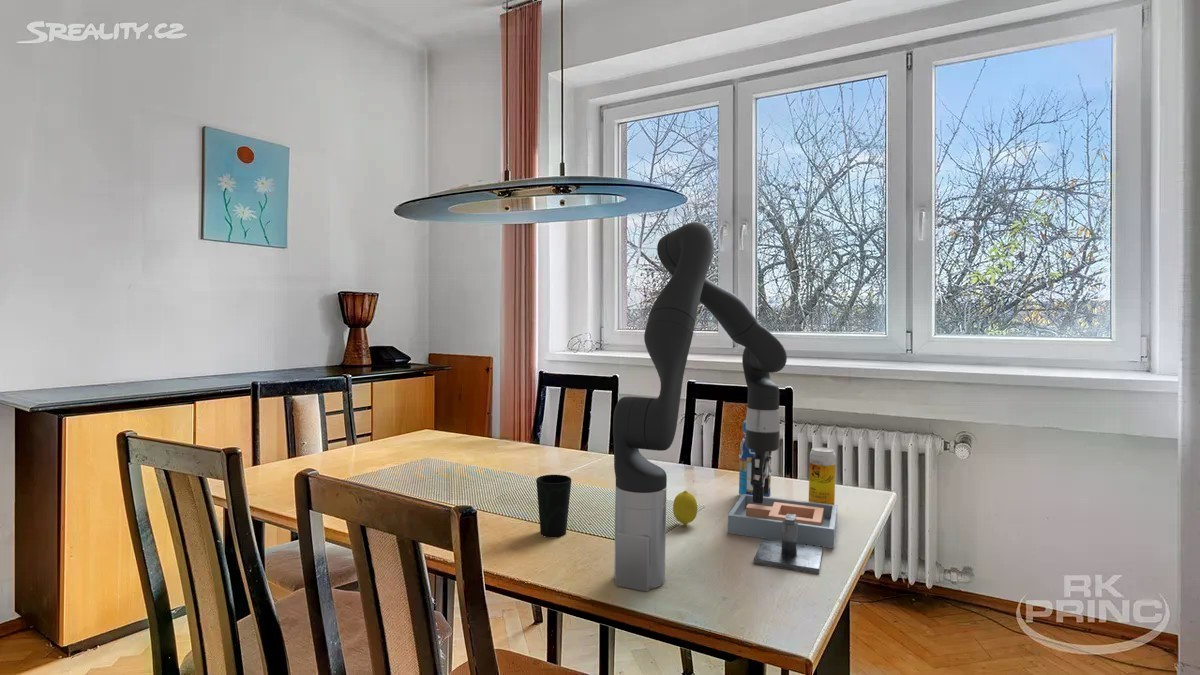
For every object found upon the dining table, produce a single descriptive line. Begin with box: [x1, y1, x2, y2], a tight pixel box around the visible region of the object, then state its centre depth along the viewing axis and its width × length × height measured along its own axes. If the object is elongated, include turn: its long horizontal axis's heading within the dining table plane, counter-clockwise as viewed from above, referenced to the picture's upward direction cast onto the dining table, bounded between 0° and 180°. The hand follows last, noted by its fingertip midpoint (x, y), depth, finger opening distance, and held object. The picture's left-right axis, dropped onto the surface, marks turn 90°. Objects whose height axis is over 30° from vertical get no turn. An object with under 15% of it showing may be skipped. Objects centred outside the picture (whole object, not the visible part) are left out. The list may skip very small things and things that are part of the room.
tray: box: [727, 494, 838, 549], centre depth 145 cm, size 18×22×4 cm
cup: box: [535, 474, 572, 538], centre depth 139 cm, size 8×8×12 cm
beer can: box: [808, 446, 837, 505], centre depth 159 cm, size 6×6×15 cm
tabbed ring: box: [746, 502, 824, 526], centre depth 145 cm, size 11×16×3 cm, turn 68°
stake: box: [753, 514, 824, 575], centre depth 127 cm, size 12×12×8 cm
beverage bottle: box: [738, 419, 772, 497], centre depth 169 cm, size 8×8×20 cm
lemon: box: [672, 490, 698, 526], centre depth 146 cm, size 6×6×8 cm
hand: (760, 498), depth 147 cm, fingers open, 8 cm apart
